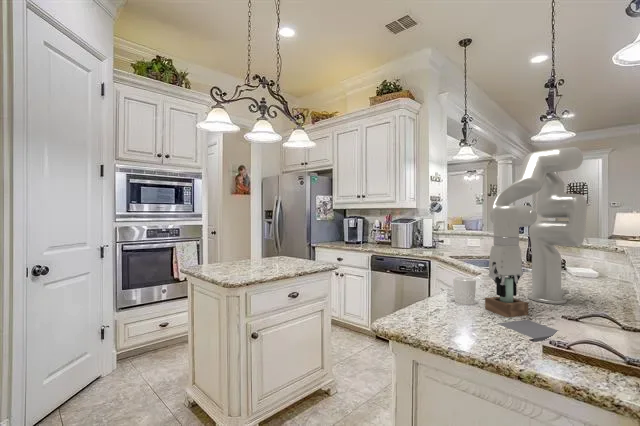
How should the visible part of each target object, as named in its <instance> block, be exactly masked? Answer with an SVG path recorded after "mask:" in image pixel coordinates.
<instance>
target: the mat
mask: <svg viewBox="0 0 640 426" xmlns="http://www.w3.org/2000/svg"><path fill="white" fill-rule="evenodd" d="M496 324H497V325H499V326H502V327H505V328H507V329H510V330H512V331H514V332H517V333H519V334H521V335H524V336H526V337H529V339H527V340H528V341H531V342H533V343H536V342H543V340H544V341H546V340H545V339H547V338H549V337H551V336H553V335H554V334H555V333H556V332H557V331H559V330H557V329H555V328H553V327H550V326H546V325H544V324H541V323H538V322H536V321H532V320H530V319H523V320H521V319H520V320H513V321H506V322H505V321H504V322H498V323H496Z"/></svg>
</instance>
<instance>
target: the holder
mask: <svg viewBox="0 0 640 426" xmlns="http://www.w3.org/2000/svg"><path fill="white" fill-rule="evenodd" d="M484 309H485V310H486V311H488V312H491V313H494V314H496V315H500V316H501V317H504V318H514V317H515V318H516V317H523V316H529V302H527V301H524V300H521V299H517V298H514V297H513V303H504V302H501V301H500V296H490V297H484Z"/></svg>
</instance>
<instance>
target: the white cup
mask: <svg viewBox="0 0 640 426" xmlns="http://www.w3.org/2000/svg"><path fill="white" fill-rule="evenodd" d="M452 280H453V281H452V282H453V297H454V302H455V303H456V304H459V305H466V306H467V305H470V306H471V305H474V304H475V302H476V300H475V299H476V290H477V289H476V285H477V279H476V278H475V277H471V276H453V278H452Z"/></svg>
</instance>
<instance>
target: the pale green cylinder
mask: <svg viewBox="0 0 640 426" xmlns="http://www.w3.org/2000/svg"><path fill="white" fill-rule="evenodd" d="M499 279H501V277H499ZM504 285H505V286H506V296H505V297H502V296H499V297H500V301H501V302H504V303H513V298H514V296H513V278H509V277H508V276H505V280H504Z"/></svg>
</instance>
